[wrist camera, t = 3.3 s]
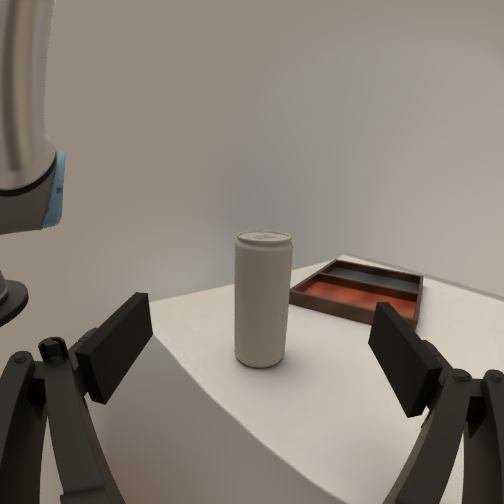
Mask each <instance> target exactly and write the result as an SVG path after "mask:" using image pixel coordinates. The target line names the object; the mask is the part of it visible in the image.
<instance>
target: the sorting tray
mask: <svg viewBox="0 0 504 504" xmlns="http://www.w3.org/2000/svg"><path fill="white" fill-rule="evenodd" d="M422 286H423V276H420V275H415V274H410V273H405V272H400V271H394V270H389V269H384V268H379V267H374V266H368V265H363V264H358V263H353V262H347V261H342V260H337V259H335V260H334V261H332V262H331V263H329V264H328V265H326V266H325V267H323V268H322V269H320V270H319V271H317V272H316V273H314V274H313V275H311V276H310V277H308V278H306V279H305V280H303V281H302V282H300V283H299V284H297V285H296V286H294V287H293V288H291V289H290V294H289V303H290V304H294V305H297V306H301V307H305V308H308V309H312V310H316V311H320V312H323V313H327V314H331V315H335V316H339V317H343V318H347V319H351V320H355V321H359V322H363V323H367V324H371V325H372V323H373V318H374V313H375V308H376V303H377V302H389V303H390V304H391V305H392V307H393V308H394V309H395V310H396V311H397V312H398V313H399V314H400V316H401V317H402V318H403V319H404V320H405V321H406V322H407V324H408V325H409V326H410V327H411V328H412V329H413V330H414V332H415V329H416V325H417V322H418V316H419V309H420V302H421V294H422Z"/></svg>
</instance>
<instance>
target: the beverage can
mask: <svg viewBox="0 0 504 504" xmlns="http://www.w3.org/2000/svg"><path fill="white" fill-rule="evenodd" d="M237 238H238V240H237V241H236V243H235V355H236V357H237V358H238V359H239V360H240V361H241V362H242V363H244V364H245V365H248V366H250V367H256V368H262V367H269V366H272V365H274V364H276V363H277V362H279V361H280V360H281V359H282V358H283V355H284V350H285V340H286V329H287V318H288V306H289V294H290V281H291V266H292V251H293V245H292V242H291V241H290V240H291V239H292V237H291V235H289V234H286V233H283V232H278V231H269V230H252V231H243V232H240V233H238V234H237Z"/></svg>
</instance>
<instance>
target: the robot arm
mask: <svg viewBox="0 0 504 504" xmlns="http://www.w3.org/2000/svg"><path fill="white" fill-rule="evenodd" d="M55 4H56V0H0V235H1V234H9V233H15V232H23V231H32V230H41V229H43V228H47V227H52V226H55V225H57V224H58V223H59V222H60V220H61V216H62V200H63V182H64V170H65V153H64V152H60V151H55V145H54V142H53V140H52V139H51V138H50V137H49V136H48V135H46V134H45V133H44V132H45V131H44V89H45V72H46V61H47V51H48V43H49V36H50V30H51V24H52V18H53V13H54V9H55ZM8 295H9V292H8V288H7V284H6V281H5V279H4V277H3V275H2V273H1V271H0V305H1V304H2V303H3V302H4V301H5V300H6V299H7V297H8ZM152 335H153V331H152V324H151V316H150V308H149V300H148V293H137V292H136V293H135V294H134V295H133V296H132V297H131V298H129V299H128V300H127V301H126V302H125V303H124V304H123V305H122V306H121V307H120V308H119V309H118V310H117V311H116V312H115V313H114V314H113V315H111V316H110V317H109V318H108V319H107V320H106V321H105V322H104V323H103V324H102V325H101V326H100V327H99V328H94V329H92V330H90V331H88V332H87V333H85V334H84V335H83V336H82V338H80V339H79V340H78V342H76V343H75V344H74V345H73V346H72V347H71V348H70V349H69V350H67V347H66V344H65V341H64V339H62V338H60V337H50V338H47V339H44V340H43V341H41V342H40V343H39V346H38V348H39V351H40V353H41V356H42V359H43V362H42V361H34V360H33V357H32V355H31V353H29V352H28V351H19V352H16V353H15V354H13V355H12V356H11V357H10V359H9V361H8V363H7V365H6V367H5V369H4V371H3V373H2V376H1V378H0V504H39V502H40V501H39V500H40V497H39V496H40V473H41V461H42V450H43V442H44V435H45V428H46V422H47V416H48V420H49V427H50V433H51V440H52V445H53V450H54V455H55V459H56V464H57V468H58V472H59V476H60V480H61V484H62V487H63V492H64V494H63V495H60V502H61V504H125V501H124V499H123V497H122V495H121V494H120V491H119V489H118V487H117V485H116V483H115V481H114V478H113V476H112V474H111V471H110V469H109V467H108V464H107V462H106V459H105V457H104V454H103V452H102V449H101V446H100V444H99V441H98V438H97V435H96V432H95V429H94V426H93V423H92V420H91V417H90V413H89V410H88V407H87V403H86V400H85V398H84V396H85V395H86V393H87V392H88V393H89V395H90V398H91V400H92V401H94V402H98V403H101V404H104V405H105V404H106V403H107V402H108V400H109V399H110V397H111V395H112V394H113V392H114V391H115V389H116V388H117V386H118V385H119V384H120V382H121V380H122V379H123V378H124V376H125V375H126V373H127V372H128V370H129V369H130V367H131V366H132V364H133V363H134V361H135V360H136V358H137V357H138V355H139V354H140V353H141V351H142V350H143V348H144V347H145V345H146V344H147V342H148V341H149V340H150V338H151V337H152ZM368 344H369V346H370V347H371V349H372V351H373V353H374V355H375V357H376V358H377V360H378V362H379V364H380V366H381V368H382V370H383V371H384V373H385V375H386V377H387V379H388V381H389V383H390V385H391V387H392V389H393V390H394V392H395V394H396V396H397V398H398V400H399V402H400V404H401V406H402V408H403V410H404V412H405V414H406V416H407V418H410V417H415V416H419V415H422V413H423V411H424V409H425V407H426V405H427V407H428V409H429V410H430V411H429V413H428V415H427V417H426V419H425V421H424V422H423V424H422V426H421V428H422V429H421V432H420V434H419V436H418V438H417V441H416V443H415V445H414V447H413V449H412V451H411V453H410V455H409V457H408V459H407V461H406V463H405V465H404V467H403V469H402V471H401V473H400V475H399V477H398V478H397V480H396V482H395V484H394V485H393V487H392V489H391V490H390V492H389V494H388V495H387V497H386V499H385V500H384V502H383V503H382V504H439V503H440V500H441V498H442V495H443V493H444V490H445V488H446V485H447V482H448V480H449V477H450V474H451V471H452V468H453V465H454V462H455V459H456V455H457V452H458V448H459V445H460V441H461V437H462V433H463V436H464V479H463V495H462V504H504V374H503V373H502V372H501V371H499V370H494V369H493V370H488V371H487V372H486V373H485V375H484V377H483V379H472V376H471V375H470V374H469V373H468V372H467V371H465V370H462V369H457V368H456V369H453V368H452V366H451V365H450V364H449V363H448V362H447V360H446V359H445V358H444V357H443V356H442V354H441V353H440V352H439V351H438V350H437V349H436V347H435V346H434V345H433V344H431V343H430V342H428V341H426V340H421V339H420V338H419V336H418V335H417V334H416V333H415V332H414V330H413V329H412V328H411V327H410V326H409V325H408V324H407V322H406V321H405V320H404V319H403V318H402V317H401V316H400V314H399V313H398V312H397V311H396V310H395V309H394V308H393V307H392V305H391V304H390V303H389V302H377V303H376V308H375V313H374V318H373V323H372V328H371V332H370V337H369V341H368Z"/></svg>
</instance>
